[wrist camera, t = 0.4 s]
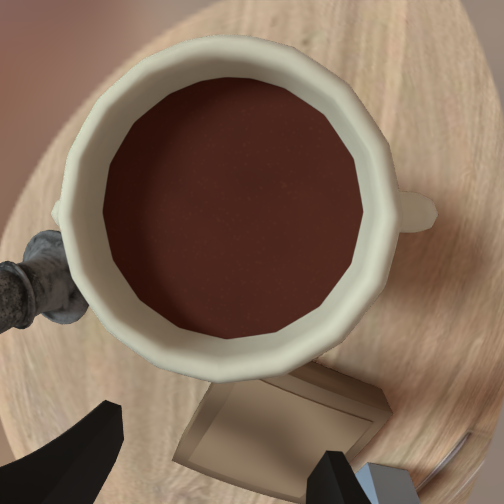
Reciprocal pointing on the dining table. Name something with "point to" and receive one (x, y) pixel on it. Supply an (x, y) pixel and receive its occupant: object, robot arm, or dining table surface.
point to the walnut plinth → (280, 428)
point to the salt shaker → (39, 285)
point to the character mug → (232, 209)
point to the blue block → (387, 485)
